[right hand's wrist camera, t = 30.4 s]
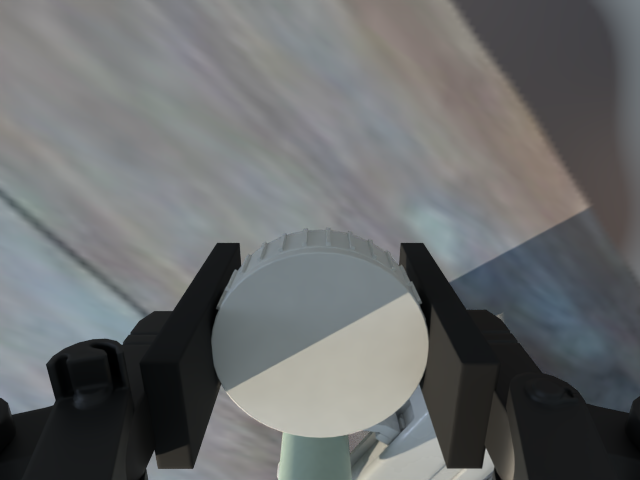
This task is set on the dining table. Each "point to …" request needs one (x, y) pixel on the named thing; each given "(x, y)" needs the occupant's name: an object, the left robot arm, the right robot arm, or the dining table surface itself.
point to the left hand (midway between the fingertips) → (305, 437)
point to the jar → (314, 458)
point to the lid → (320, 334)
